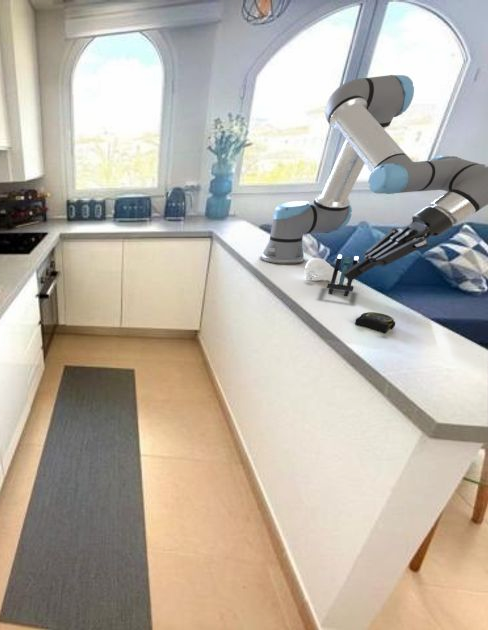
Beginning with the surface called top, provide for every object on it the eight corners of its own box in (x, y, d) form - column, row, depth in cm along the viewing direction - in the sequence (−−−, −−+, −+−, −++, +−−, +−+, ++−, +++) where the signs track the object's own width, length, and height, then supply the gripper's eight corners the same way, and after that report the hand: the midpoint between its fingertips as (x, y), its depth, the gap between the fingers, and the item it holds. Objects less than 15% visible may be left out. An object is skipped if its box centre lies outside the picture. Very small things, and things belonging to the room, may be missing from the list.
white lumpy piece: (311, 254, 122) (352, 262, 114) (303, 277, 126) (343, 286, 118) (306, 259, 118) (348, 267, 110) (298, 281, 122) (338, 291, 114)
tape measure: (351, 328, 90) (355, 315, 89) (365, 321, 93) (369, 309, 92) (382, 338, 85) (387, 325, 83) (396, 331, 88) (401, 317, 86)
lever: (351, 293, 98) (353, 287, 97) (326, 290, 102) (327, 284, 100) (358, 264, 104) (360, 258, 103) (334, 262, 108) (335, 256, 106)
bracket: (352, 304, 103) (364, 263, 98) (320, 299, 108) (329, 260, 102) (354, 293, 111) (365, 254, 105) (324, 288, 115) (333, 251, 110)
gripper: (469, 231, 82) (366, 294, 93) (432, 221, 93) (344, 278, 104) (450, 209, 81) (348, 275, 92) (415, 201, 92) (328, 261, 103)
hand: (346, 277), depth 98 cm, fingers closed
